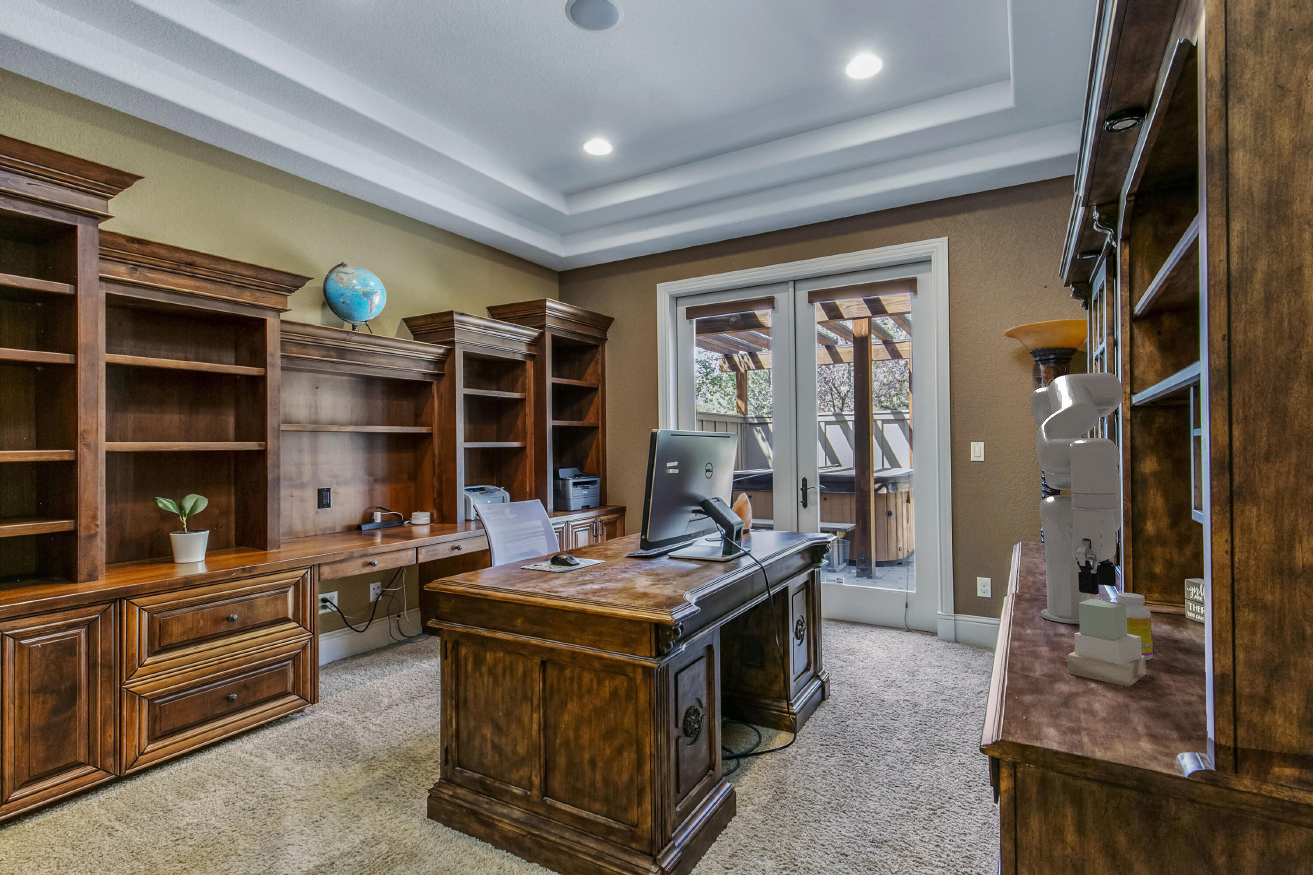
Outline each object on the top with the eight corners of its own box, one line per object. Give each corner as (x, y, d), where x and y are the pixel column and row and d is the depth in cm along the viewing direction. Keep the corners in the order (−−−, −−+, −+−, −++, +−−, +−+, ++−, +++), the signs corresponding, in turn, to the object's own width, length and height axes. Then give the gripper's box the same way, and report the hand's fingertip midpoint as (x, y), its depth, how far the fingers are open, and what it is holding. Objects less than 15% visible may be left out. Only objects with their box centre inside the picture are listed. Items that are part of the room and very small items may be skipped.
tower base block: (1087, 664, 133) (1086, 644, 133) (1146, 676, 125) (1145, 655, 126) (1068, 675, 127) (1067, 654, 127) (1129, 689, 119) (1128, 667, 119)
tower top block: (1096, 647, 132) (1096, 627, 132) (1141, 657, 125) (1141, 636, 125) (1075, 653, 128) (1074, 633, 128) (1120, 665, 121) (1119, 643, 121)
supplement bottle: (1160, 662, 132) (1157, 598, 132) (1123, 660, 133) (1121, 598, 134) (1142, 652, 139) (1139, 591, 139) (1107, 651, 140) (1105, 591, 140)
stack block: (1092, 628, 131) (1091, 598, 131) (1127, 634, 126) (1126, 603, 126) (1079, 633, 127) (1078, 603, 127) (1115, 640, 122) (1113, 608, 123)
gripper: (1088, 498, 136) (1091, 579, 136) (1056, 504, 125) (1059, 593, 125) (1131, 499, 130) (1134, 585, 130) (1101, 506, 119) (1105, 600, 119)
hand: (1097, 589), depth 127 cm, fingers open, 9 cm apart
